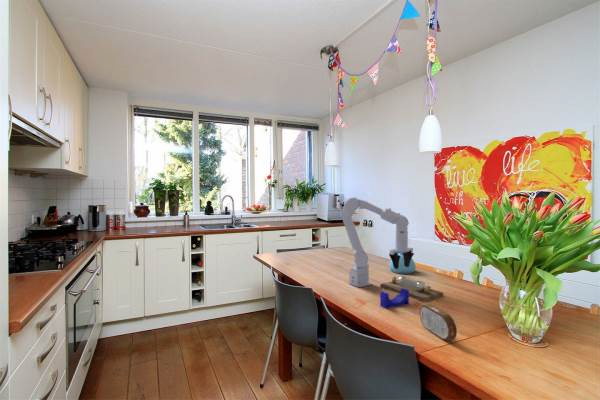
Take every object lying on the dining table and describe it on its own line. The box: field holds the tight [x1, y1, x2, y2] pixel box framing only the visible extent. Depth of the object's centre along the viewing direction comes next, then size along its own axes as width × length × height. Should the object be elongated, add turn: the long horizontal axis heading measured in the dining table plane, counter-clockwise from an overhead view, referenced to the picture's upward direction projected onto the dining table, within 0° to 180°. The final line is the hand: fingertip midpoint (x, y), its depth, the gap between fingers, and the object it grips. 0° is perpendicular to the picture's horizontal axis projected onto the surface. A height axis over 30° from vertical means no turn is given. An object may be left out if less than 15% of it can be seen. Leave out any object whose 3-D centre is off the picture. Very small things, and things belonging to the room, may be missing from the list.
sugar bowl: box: [388, 253, 417, 275], centre depth 179 cm, size 15×15×12 cm
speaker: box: [419, 303, 458, 341], centre depth 98 cm, size 15×3×8 cm, turn 13°
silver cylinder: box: [398, 276, 426, 293], centre depth 141 cm, size 14×4×4 cm, turn 32°
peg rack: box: [379, 276, 444, 303], centre depth 141 cm, size 14×24×4 cm, turn 32°
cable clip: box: [379, 288, 410, 309], centre depth 124 cm, size 12×4×6 cm, turn 113°
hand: (401, 267), depth 149 cm, fingers open, 7 cm apart
